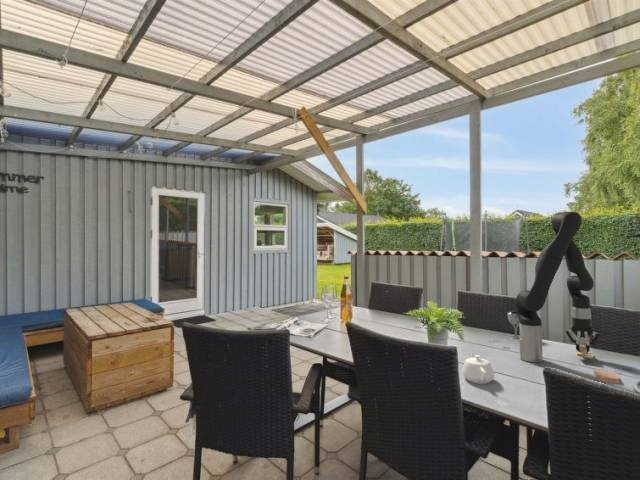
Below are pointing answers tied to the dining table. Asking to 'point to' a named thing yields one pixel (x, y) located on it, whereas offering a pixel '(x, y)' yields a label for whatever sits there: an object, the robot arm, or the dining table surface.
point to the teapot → (478, 370)
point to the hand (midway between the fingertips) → (582, 351)
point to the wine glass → (514, 322)
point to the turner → (583, 352)
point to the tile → (605, 376)
